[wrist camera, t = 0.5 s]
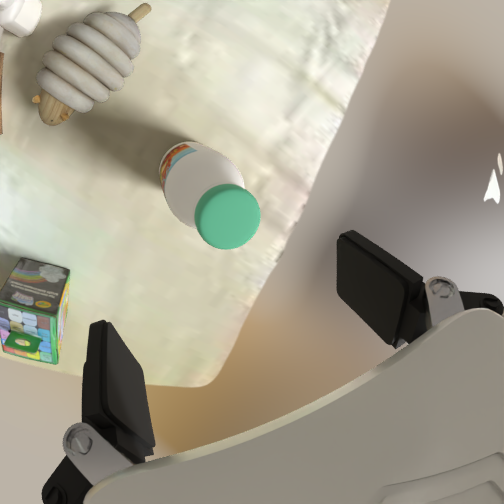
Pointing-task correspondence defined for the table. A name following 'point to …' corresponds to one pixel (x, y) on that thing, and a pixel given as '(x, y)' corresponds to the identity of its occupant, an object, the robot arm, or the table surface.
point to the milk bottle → (209, 195)
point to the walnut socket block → (0, 66)
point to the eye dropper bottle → (20, 16)
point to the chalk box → (34, 311)
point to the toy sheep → (88, 63)
